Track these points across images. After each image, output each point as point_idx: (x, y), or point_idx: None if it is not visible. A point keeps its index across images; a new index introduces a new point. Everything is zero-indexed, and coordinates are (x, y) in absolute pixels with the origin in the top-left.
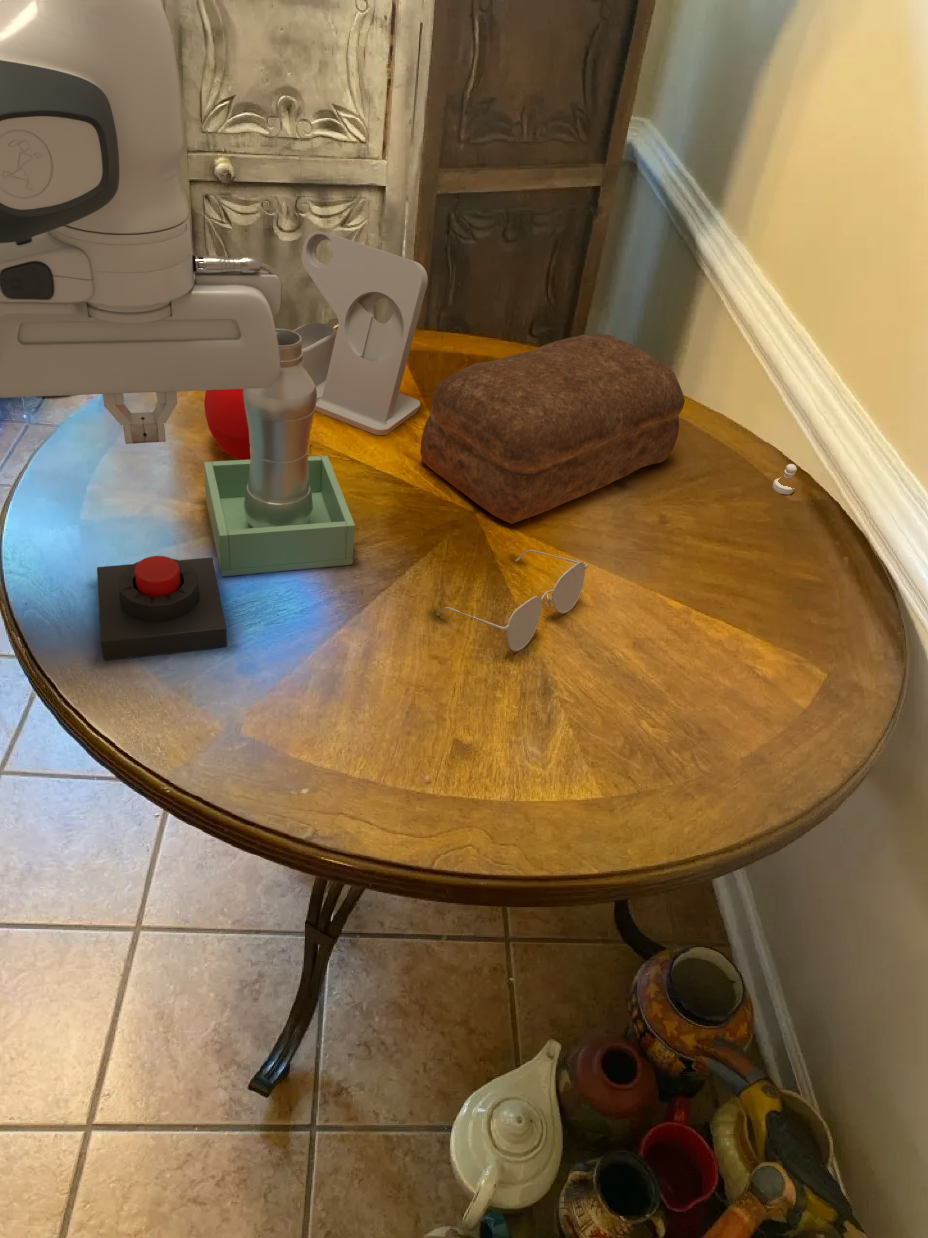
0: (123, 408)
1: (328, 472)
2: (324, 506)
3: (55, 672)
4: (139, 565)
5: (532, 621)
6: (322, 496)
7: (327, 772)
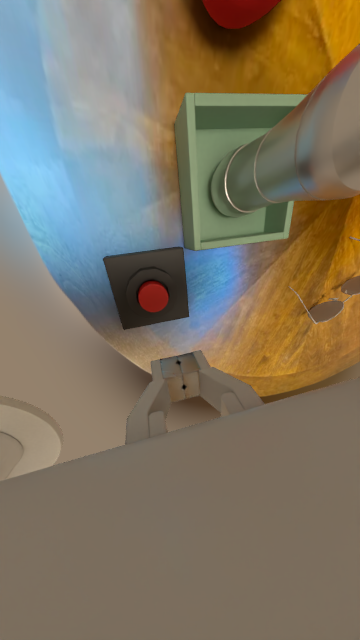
0: (161, 408)
1: None
2: None
3: (100, 331)
4: (141, 295)
5: (327, 306)
6: None
7: None
